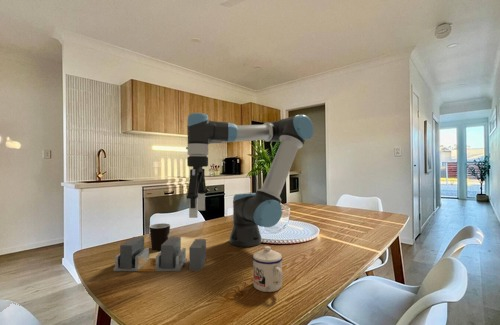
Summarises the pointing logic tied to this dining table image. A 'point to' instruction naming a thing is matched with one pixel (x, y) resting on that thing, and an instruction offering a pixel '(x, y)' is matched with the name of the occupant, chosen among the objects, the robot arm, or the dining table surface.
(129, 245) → the rack
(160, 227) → the coffee mug
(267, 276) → the teacup with lid
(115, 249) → the dining table surface
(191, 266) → the grey rectangular block
